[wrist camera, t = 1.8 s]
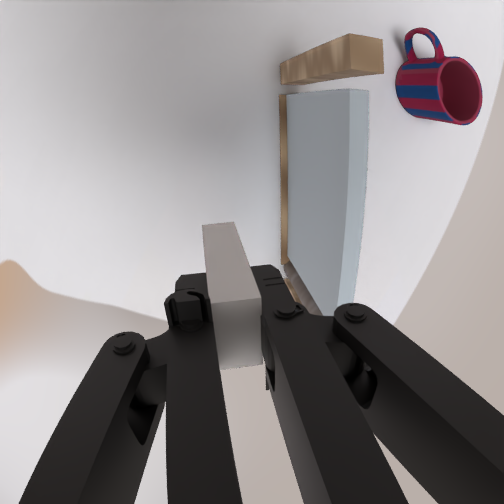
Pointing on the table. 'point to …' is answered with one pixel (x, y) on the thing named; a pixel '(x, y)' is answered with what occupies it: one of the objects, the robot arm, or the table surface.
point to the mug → (438, 85)
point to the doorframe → (292, 73)
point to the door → (327, 190)
